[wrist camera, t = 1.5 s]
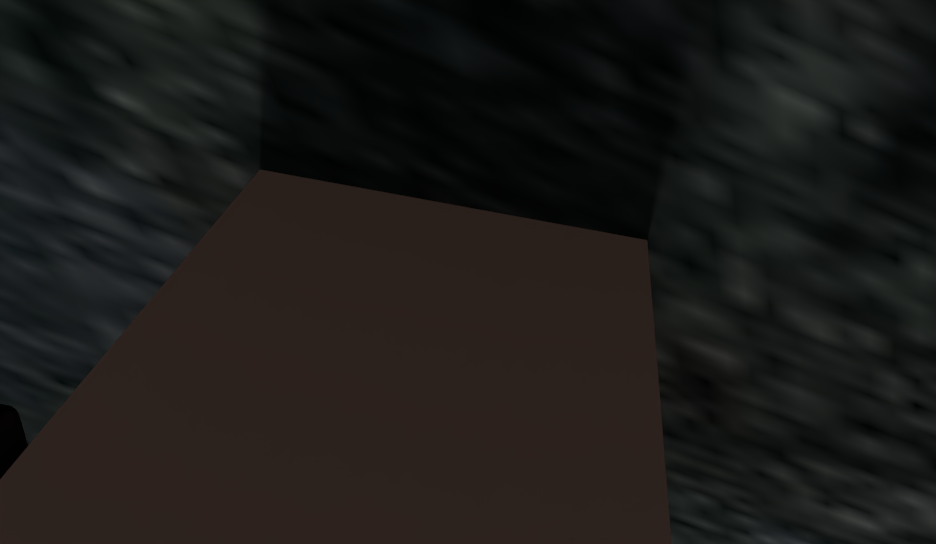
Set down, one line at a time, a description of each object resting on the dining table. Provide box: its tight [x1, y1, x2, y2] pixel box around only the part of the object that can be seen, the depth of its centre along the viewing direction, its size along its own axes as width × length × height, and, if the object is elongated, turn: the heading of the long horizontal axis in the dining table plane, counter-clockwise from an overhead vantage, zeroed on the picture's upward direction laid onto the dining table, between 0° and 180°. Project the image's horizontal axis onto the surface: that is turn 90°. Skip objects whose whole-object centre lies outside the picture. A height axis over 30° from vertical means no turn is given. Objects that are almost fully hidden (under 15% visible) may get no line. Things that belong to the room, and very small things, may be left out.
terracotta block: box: [0, 170, 671, 544], centre depth 9 cm, size 5×5×6 cm
